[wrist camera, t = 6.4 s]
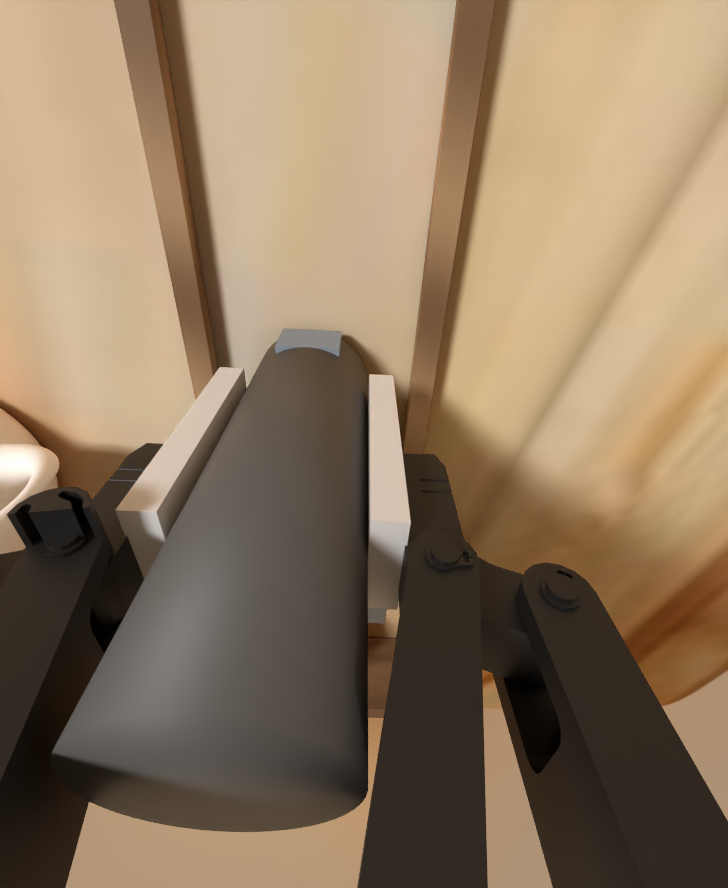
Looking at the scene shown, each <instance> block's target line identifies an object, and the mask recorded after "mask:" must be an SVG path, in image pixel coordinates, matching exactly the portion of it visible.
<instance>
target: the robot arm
mask: <svg viewBox="0 0 728 888" xmlns="http://www.w3.org/2000/svg"><path fill="white" fill-rule="evenodd" d="M245 391H246V382H245V373H244V368H229V367H220V368H219V369H218V370H217V372H216V373H215V374H214V376H213V377H212V379H211V380H210V381H209V383H208V384H207V385H206V387H205V388H204V389H203V391H202V392H201V394H200V395H199V396H198V398H197V399H196V400H195V402H194V403H193V405H192V406H191V407H190V409H189V410H188V411H187V413H186V414H185V415H184V417H183V418H182V420H181V421H180V422H179V424H178V425H177V426H176V428H175V429H174V430H173V432H172V433H171V435H170V436H169V437H168V439H167V440H166V441H165V443H164V444H152V443H146V444H145V445H143V446H142V447H140V448H139V449H137V450H136V451H134V452H132V453H131V454H129V456H128V457H127V458H126V459H125V460H124V462H123V463H122V464H121V465H120V467H119V470H116V471H115V473H114V474H113V475H112V476H111V477H110V481H107V482H106V484H105V485H104V486H103V487H102V488H101V490H100V491H99V492H98V493H97V495H96V496H95V497H94V498H93V499H91V497H90V495H89V494H88V492H87V491H85V490H82V489H80V488H77V487H60V488H55V489H49V490H45V491H43V492H40V493H37V494H35V495H32V496H30V497H28V498H27V499H25V500H23V501H22V502H20V503H18V504H17V505H16V506H15V507H14V508H12V509H11V510H10V511H9V512H8V513H7V514H6V515H7V516H8V518H9V520H10V521H11V523H12V525H13V526H14V528H15V530H16V531H17V533H18V535H19V536H20V538H21V540H22V541H23V543H24V545H25V546H26V547H25V549H24V550H20V551H14V552H9V553H4V554H0V888H65V887H66V883H67V880H68V876H69V872H70V869H71V865H72V861H73V857H74V854H75V850H76V847H77V843H78V839H79V836H80V832H81V828H82V825H83V821H84V817H85V814H86V810H87V807H88V803H89V801H87V800H85V799H84V798H82V797H80V796H78V795H76V794H75V793H73V792H72V791H70V790H69V789H68V788H66V787H65V786H64V785H63V784H62V783H60V781H59V780H58V779H57V778H56V777H55V775H54V774H53V772H52V769H51V767H50V757H51V753H52V751H53V749H54V747H55V745H56V743H57V741H58V740H59V738H60V736H61V734H62V732H63V730H64V728H65V727H66V725H67V723H68V721H69V719H70V717H71V715H72V714H73V712H74V710H75V708H76V706H77V704H78V702H79V700H80V699H81V697H82V695H83V693H84V691H85V689H86V687H87V686H88V684H89V682H90V680H91V678H92V676H93V674H94V673H95V671H96V669H97V667H98V665H99V663H100V661H101V659H102V658H103V656H104V654H105V652H106V650H107V648H108V646H109V645H110V643H111V641H112V639H113V637H114V635H115V633H116V632H117V630H118V628H119V626H120V624H121V622H122V620H123V618H124V617H125V615H126V613H127V611H128V609H129V607H130V605H131V604H132V602H133V600H134V598H135V596H136V594H137V592H138V591H139V589H140V587H141V585H142V583H143V581H144V579H145V577H146V576H147V574H148V572H149V570H150V568H151V566H152V564H153V563H154V561H155V559H156V557H157V555H158V553H159V551H160V550H161V548H162V546H163V544H164V542H165V540H166V538H167V536H168V535H169V533H170V531H171V529H172V527H173V525H174V523H175V522H176V520H177V518H178V516H179V514H180V512H181V510H182V509H183V507H184V505H185V503H186V501H187V499H188V497H189V495H190V494H191V492H192V490H193V488H194V486H195V484H196V482H197V481H198V479H199V477H200V475H201V473H202V471H203V469H204V468H205V466H206V464H207V462H208V460H209V458H210V456H211V454H212V453H213V451H214V449H215V447H216V445H217V443H218V441H219V440H220V438H221V436H222V434H223V432H224V430H225V428H226V427H227V425H228V423H229V421H230V419H231V417H232V415H233V413H234V412H235V410H236V408H237V406H238V404H239V402H240V400H241V399H242V397H243V395H244V393H245ZM398 601H399V609H400V618H399V624H398V630H397V636H396V642H395V650H394V656H393V662H392V669H391V675H390V682H389V688H388V694H387V701H386V707H385V713H384V720H383V727H382V733H381V739H380V746H379V752H378V759H377V765H376V772H375V777H374V784H373V791H372V797H371V803H370V809H369V816H368V822H367V829H366V835H365V841H364V848H363V854H362V861H361V868H360V874H359V880H358V887H357V888H487V887H488V884H487V847H486V808H485V807H486V806H485V769H484V768H485V767H484V728H483V688H482V669H483V670H486V671H489V672H491V673H493V676H494V680H495V683H496V687H497V690H498V694H499V698H500V701H501V705H502V708H503V712H504V715H505V719H506V722H507V726H508V729H509V733H510V736H511V740H512V744H513V747H514V750H515V754H516V757H517V761H518V765H519V768H520V772H521V776H522V779H523V783H524V786H525V790H526V793H527V797H528V801H529V804H530V808H531V811H532V815H533V818H534V822H535V825H536V829H537V832H538V836H539V840H540V843H541V847H542V850H543V854H544V857H545V861H546V864H547V868H548V872H549V875H550V878H551V882H552V885H553V888H728V821H727V819H726V818H725V816H724V814H723V812H722V811H721V809H720V807H719V805H718V804H717V802H716V800H715V798H714V797H713V795H712V793H711V792H710V790H709V788H708V786H707V784H706V783H705V781H704V779H703V778H702V776H701V774H700V772H699V771H698V769H697V767H696V765H695V764H694V762H693V760H692V758H691V757H690V755H689V753H688V751H687V750H686V748H685V746H684V745H683V743H682V741H681V739H680V738H679V736H678V734H677V732H676V731H675V729H674V727H673V726H672V724H671V722H670V720H669V719H668V717H667V715H666V713H665V712H664V710H663V708H662V706H661V705H660V703H659V701H658V699H657V698H656V696H655V694H654V692H653V691H652V689H651V687H650V685H649V684H648V682H647V680H646V679H645V677H644V675H643V673H642V672H641V670H640V668H639V666H638V665H637V663H636V661H635V659H634V658H633V656H632V654H631V652H630V651H629V649H628V647H627V646H626V644H625V642H624V640H623V639H622V637H621V635H620V633H619V632H618V630H617V628H616V626H615V625H614V623H613V621H612V619H611V618H610V616H609V614H608V613H607V611H606V609H605V607H604V606H603V604H602V602H601V600H600V599H599V597H598V595H597V593H596V592H595V591H594V589H593V588H592V587H591V586H590V584H589V583H588V582H587V581H586V580H585V579H584V578H582V577H581V576H580V575H578V574H577V573H576V572H574V571H572V570H570V569H568V568H565V567H563V566H561V565H557V564H551V563H541V564H535V565H533V566H531V567H530V568H529V569H527V570H526V571H525V573H524V575H522V574H519V573H516V572H513V571H509V570H506V569H503V568H499V567H497V566H494V565H492V564H489V563H487V562H486V561H484V560H482V559H481V558H479V557H478V556H477V553H476V552H475V551H474V550H473V548H472V547H471V546H470V544H469V543H467V542H466V541H465V540H464V537H463V534H462V530H461V526H460V523H459V519H458V515H457V511H456V507H455V503H454V499H453V495H452V494H451V488H450V484H449V480H448V476H447V472H446V468H445V466H444V465H443V464H442V463H441V461H440V460H439V459H438V458H437V457H436V456H435V455H431V454H408V453H402V445H401V437H400V429H399V420H398V412H397V404H396V396H395V387H394V379H393V375H375V374H369V390H368V608H372V609H397V608H398Z"/></svg>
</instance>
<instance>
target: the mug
mask: <svg viewBox="0 0 728 888" xmlns="http://www.w3.org/2000/svg"><path fill="white" fill-rule="evenodd" d="M58 469H59V460H58V457H57V456H56V455H55V454H54V453H53V452H52V451H51V450H49V449H46V448H44V447H41V445H40V444H39V443H38V441H37V440H36V439H35V438H34V437H33V436H32V435H31V433H30V432H29V431H28V430H27V429H26V428H25V427H24V426H22V425H21V424H20V423H19V422H18V421H17V420H16V419H14V418H13V417H12V416H11V415H9V414H8V413H7V412H5V411H4V410H3V409H1V408H0V554H4V553H9V552H14V551H20V550H24V549H25V547H26V546H25V545H24V543H23V541H22V540H21V538H20V536H19V535H18V533H17V531H16V530H15V528H14V526H13V525H12V523H11V521H10V520H9V518H8V516H7V515H6V514H7V513H8V512H9V511H10V510H11V509H12V508H14V507H15V506H16V505H17V504H18V503H20V502H22V501H23V500H25V499H27V498H28V497H30V496H32V495H35V494H37V493H40V492H43V491H45V490H49V489H55V488H58V481H57V476H56V474H57V472H58Z"/></svg>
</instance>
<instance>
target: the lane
mask: <svg viewBox="0 0 728 888" xmlns="http://www.w3.org/2000/svg"><path fill="white" fill-rule="evenodd" d="M114 3H115V8H116V12H117V17H118V22H119V27H120V32H121V37H122V42H123V47H124V52H125V57H126V61H127V66H128V71H129V76H130V81H131V86H132V91H133V96H134V101H135V106H136V110H137V115H138V120H139V125H140V130H141V135H142V140H143V145H144V150H145V155H146V159H147V164H148V169H149V174H150V179H151V184H152V189H153V194H154V199H155V203H156V208H157V213H158V218H159V223H160V228H161V233H162V238H163V243H164V248H165V252H166V257H167V262H168V267H169V272H170V277H171V282H172V287H173V292H174V297H175V301H176V306H177V311H178V316H179V321H180V326H181V331H182V336H183V341H184V345H185V350H186V355H187V360H188V365H189V370H190V375H191V380H192V385H193V390H194V394H195V399H197V398H198V396H199V395H200V394H201V392H202V391H203V389H204V388H205V387H206V385H207V384H208V383H209V381H210V380H211V379H212V377H213V376H214V374H215V373H216V372H217V370H218V367H217V361H216V354H215V348H214V342H213V336H212V330H211V324H210V317H209V311H208V305H207V299H206V293H205V287H204V280H203V274H202V268H201V262H200V256H199V250H198V244H197V237H196V231H195V225H194V219H193V213H192V207H191V200H190V194H189V188H188V182H187V176H186V170H185V163H184V157H183V151H182V145H181V139H180V133H179V126H178V120H177V114H176V108H175V102H174V96H173V89H172V83H171V77H170V71H169V65H168V59H167V53H166V46H165V40H164V34H163V28H162V22H161V16H160V9H159V3H158V0H114ZM494 4H495V0H457V2H456V10H455V19H454V27H453V35H452V43H451V51H450V59H449V68H448V76H447V84H446V92H445V100H444V109H443V117H442V125H441V133H440V141H439V149H438V158H437V166H436V174H435V182H434V190H433V199H432V207H431V215H430V223H429V231H428V239H427V248H426V256H425V264H424V272H423V280H422V289H421V297H420V305H419V313H418V321H417V329H416V338H415V346H414V354H413V362H412V370H411V379H410V387H409V395H408V403H407V411H406V419H405V428H404V436H403V444H402V453H408V454H423V451H424V445H425V439H426V432H427V426H428V420H429V414H430V407H431V401H432V395H433V388H434V382H435V376H436V370H437V363H438V357H439V351H440V344H441V338H442V332H443V325H444V319H445V313H446V307H447V300H448V294H449V288H450V281H451V275H452V269H453V262H454V256H455V250H456V244H457V237H458V231H459V225H460V218H461V212H462V206H463V200H464V193H465V187H466V181H467V174H468V168H469V162H470V155H471V149H472V143H473V137H474V130H475V124H476V118H477V111H478V105H479V99H480V92H481V86H482V80H483V74H484V67H485V61H486V55H487V48H488V42H489V36H490V30H491V23H492V17H493V11H494Z"/></svg>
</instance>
